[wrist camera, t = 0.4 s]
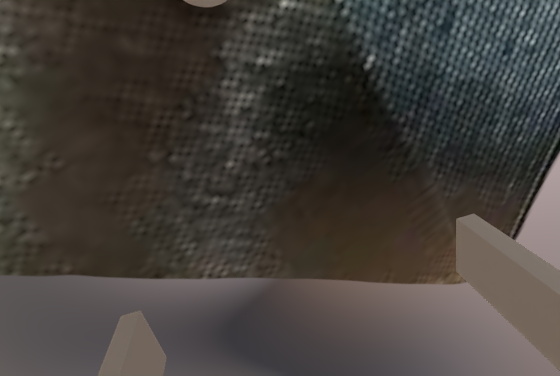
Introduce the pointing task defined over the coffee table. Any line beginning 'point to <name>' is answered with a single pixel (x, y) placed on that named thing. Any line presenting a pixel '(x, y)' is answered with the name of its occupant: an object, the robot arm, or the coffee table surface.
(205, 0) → the mug
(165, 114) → the coffee table surface
